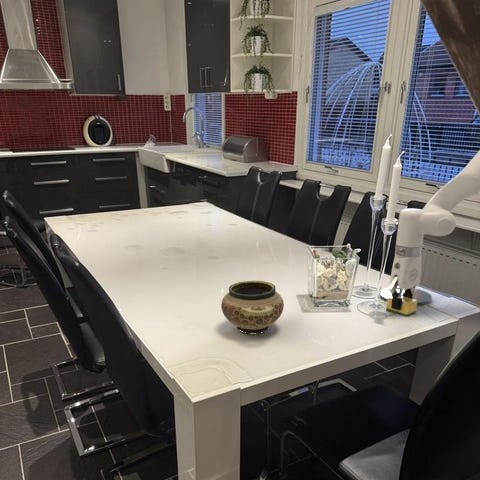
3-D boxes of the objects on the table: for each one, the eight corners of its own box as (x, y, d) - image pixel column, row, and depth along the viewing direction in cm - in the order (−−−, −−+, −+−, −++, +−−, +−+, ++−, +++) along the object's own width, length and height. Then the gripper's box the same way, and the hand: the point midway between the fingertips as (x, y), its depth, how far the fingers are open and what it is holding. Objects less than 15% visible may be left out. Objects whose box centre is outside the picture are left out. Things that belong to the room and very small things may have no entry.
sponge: (415, 313, 147) (417, 300, 146) (406, 317, 145) (408, 303, 143) (395, 307, 153) (396, 294, 151) (386, 310, 150) (387, 297, 148)
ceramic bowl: (226, 322, 149) (213, 280, 143) (279, 306, 149) (268, 263, 144) (235, 356, 127) (220, 307, 121) (297, 338, 127) (285, 288, 121)
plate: (441, 298, 160) (441, 295, 160) (413, 309, 150) (413, 306, 150) (398, 287, 172) (398, 284, 172) (369, 296, 163) (369, 293, 162)
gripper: (402, 257, 134) (395, 316, 141) (434, 248, 144) (426, 304, 150) (380, 253, 139) (375, 310, 146) (413, 244, 149) (406, 298, 156)
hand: (401, 306), depth 148 cm, fingers closed on sponge, 5 cm apart
